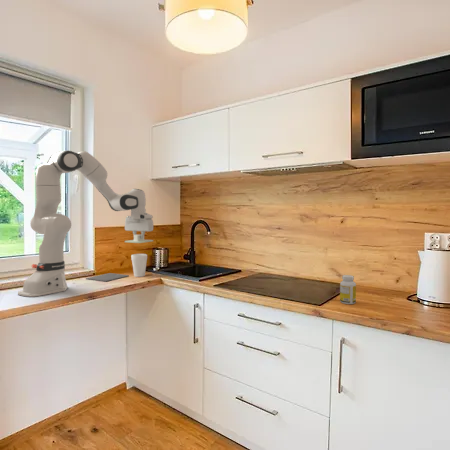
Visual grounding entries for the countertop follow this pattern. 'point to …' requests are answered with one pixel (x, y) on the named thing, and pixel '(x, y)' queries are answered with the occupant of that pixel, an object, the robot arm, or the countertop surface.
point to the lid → (138, 239)
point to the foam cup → (139, 264)
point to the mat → (107, 277)
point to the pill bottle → (348, 290)
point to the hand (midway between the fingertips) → (138, 238)
